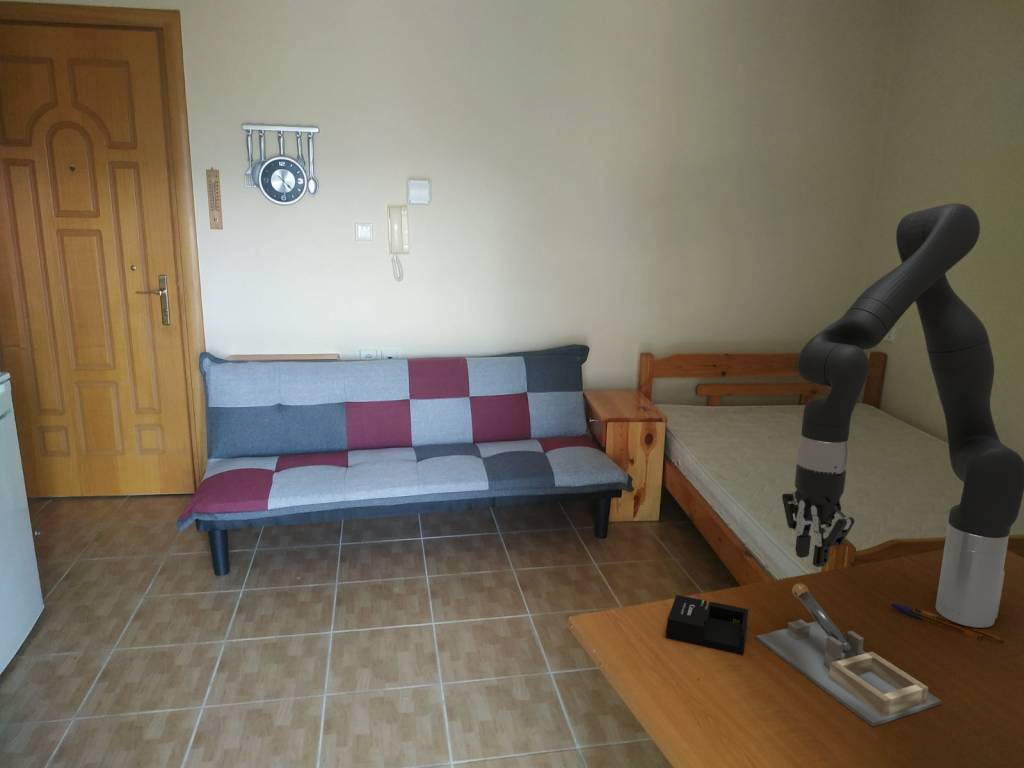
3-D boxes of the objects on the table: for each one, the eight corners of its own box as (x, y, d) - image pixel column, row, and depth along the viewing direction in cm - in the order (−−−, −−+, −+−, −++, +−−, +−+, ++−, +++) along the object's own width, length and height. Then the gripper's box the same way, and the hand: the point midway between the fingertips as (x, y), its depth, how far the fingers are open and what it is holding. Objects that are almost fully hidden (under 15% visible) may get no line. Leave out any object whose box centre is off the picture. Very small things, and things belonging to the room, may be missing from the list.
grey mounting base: (816, 623, 126) (820, 595, 125) (940, 704, 104) (946, 670, 103) (755, 639, 121) (758, 609, 119) (872, 726, 99) (877, 691, 98)
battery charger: (665, 639, 120) (666, 619, 120) (674, 613, 129) (675, 594, 128) (743, 657, 116) (745, 635, 115) (747, 629, 124) (749, 608, 124)
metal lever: (798, 588, 122) (804, 579, 120) (851, 654, 112) (858, 645, 111) (786, 591, 121) (792, 581, 119) (838, 658, 111) (846, 648, 110)
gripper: (772, 453, 119) (763, 547, 122) (838, 479, 106) (826, 583, 109) (806, 449, 121) (796, 541, 125) (874, 474, 109) (861, 575, 112)
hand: (810, 560), depth 117 cm, fingers open, 3 cm apart
